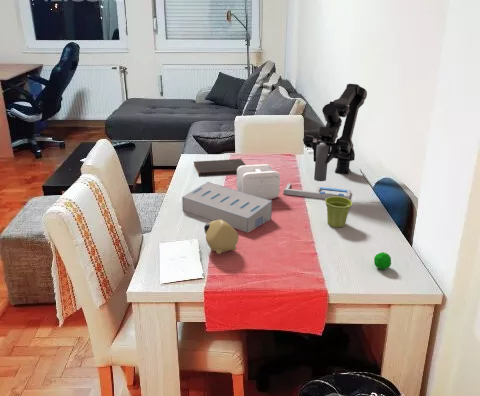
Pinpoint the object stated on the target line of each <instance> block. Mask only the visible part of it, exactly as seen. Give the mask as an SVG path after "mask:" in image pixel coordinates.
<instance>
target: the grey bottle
mask: <svg viewBox="0 0 480 396" xmlns="http://www.w3.org/2000/svg"><path fill="white" fill-rule="evenodd" d="M329 149H330V147H329V146H328V145H326V143H320V144H319V145H317V148H316V161H315V162H314V163H315V164H314V173H313V174H314V176H313V178H314V181H316V182H326V181H327V171H328V164H326V161H327V158H328V155H329V152H330V150H329Z"/></svg>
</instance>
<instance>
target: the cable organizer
mask: <svg viewBox="0 0 480 396" xmlns="http://www.w3.org/2000/svg"><path fill="white" fill-rule="evenodd" d="M280 183H281V174H280V173H279V172H278V171H277V170H273V169H272V166H271V165H270V164H267V163H266V164H265V163H264V164H248V165H247V164H245V165H243V166H239V167H238V168H237V174H236V190H237V191H241V192H244V193H247V194H251V195H254V196H258V197H261V198H264V199H268V200H272V199H275V198H278V197H279V194H280Z"/></svg>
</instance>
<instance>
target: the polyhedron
mask: <svg viewBox="0 0 480 396" xmlns="http://www.w3.org/2000/svg"><path fill="white" fill-rule="evenodd" d="M373 259H374V260H373V261H374V265H375V266H376V268H378V269H380V270H386V269H389V268H390V266H391V265H392V257H391V256H390V254H389V253H387V252H382V251H381V252H380V253H377V254H376V255H375V256H374V258H373Z"/></svg>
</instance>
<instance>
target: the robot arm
mask: <svg viewBox="0 0 480 396" xmlns="http://www.w3.org/2000/svg"><path fill="white" fill-rule="evenodd" d="M367 95H368V92H367V90H366V88H364V87H362V86H360V84H357V83H347V84H346V88H345V89H344V91H343V92H342V93H341V95H340V96H339V98H337V99H334V100H333V101H329V103H326V104H324V106H323V107H322V114H323V117H324V118H323V119H324V121H325V122H326V124H325V126H319V128H318V133H317V134H318V136H319V138H315V136H314V135H308V134H305V135H304V136H303V139H302V141H303V144H304V146H305V147H306V148H310V149H312V150H313V162H314V163H315V161H316V148H317V145H319V144H320V143H326V145H328V146H329V148H330V150H329V152H328V158H327V161H326V164H327V165H328V164H329V163H330V162H331V161H332V160H333V159H337V160H336V161H337V162H336V167H335V170H334V173H336V174H347V175H350V172H351V168H350V163H351V162H353V161H355V159H356V157H355V155H356V153H355V149H354V143H353V140H352V138H353V134H354V129H355V125H356V122H357V117H358V112H359V109H360V108H361V107H362V106H363V105H364V103H365V100H366V99H367ZM342 118H345V120H344V124H343V129H342V132H341V136H340V137H339V135H338V134H339V131H340V129H341V126H342V122H343V121H342V120H343V119H342ZM338 137H339V138H338Z"/></svg>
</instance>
